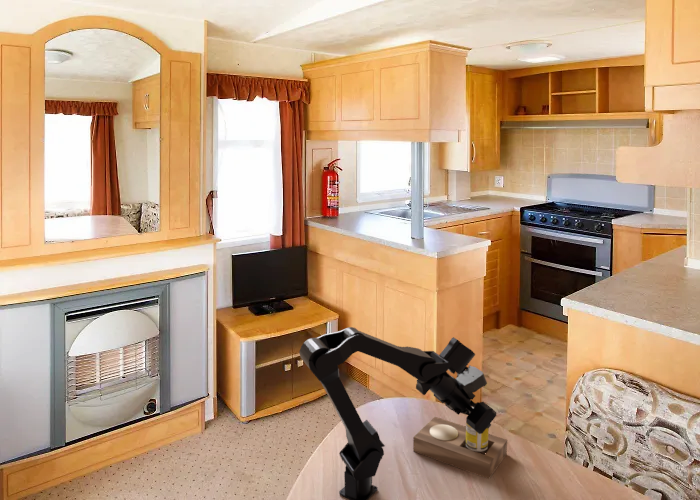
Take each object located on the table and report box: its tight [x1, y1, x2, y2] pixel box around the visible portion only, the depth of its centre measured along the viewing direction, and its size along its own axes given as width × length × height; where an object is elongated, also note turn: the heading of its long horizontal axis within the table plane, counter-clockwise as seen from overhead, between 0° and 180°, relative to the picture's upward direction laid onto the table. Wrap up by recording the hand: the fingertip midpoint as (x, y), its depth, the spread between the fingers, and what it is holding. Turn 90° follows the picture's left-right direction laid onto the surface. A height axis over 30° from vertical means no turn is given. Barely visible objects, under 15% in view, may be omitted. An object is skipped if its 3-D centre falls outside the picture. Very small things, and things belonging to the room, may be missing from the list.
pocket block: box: [412, 416, 508, 480], centre depth 134 cm, size 12×20×4 cm, turn 54°
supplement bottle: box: [465, 407, 490, 453], centre depth 130 cm, size 5×5×10 cm
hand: (482, 420), depth 131 cm, fingers closed on supplement bottle, 5 cm apart
